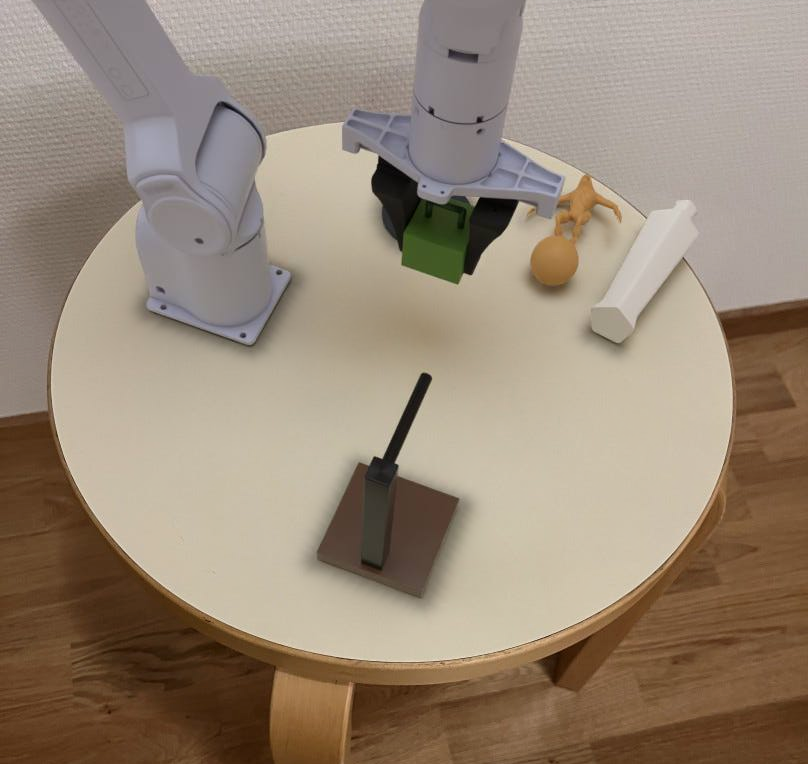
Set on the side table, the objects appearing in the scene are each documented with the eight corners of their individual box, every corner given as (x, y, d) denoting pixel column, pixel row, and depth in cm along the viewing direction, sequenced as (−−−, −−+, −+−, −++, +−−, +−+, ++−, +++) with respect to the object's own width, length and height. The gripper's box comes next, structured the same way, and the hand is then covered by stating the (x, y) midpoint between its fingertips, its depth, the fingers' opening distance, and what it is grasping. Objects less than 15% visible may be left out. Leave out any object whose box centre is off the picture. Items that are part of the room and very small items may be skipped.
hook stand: (316, 559, 65) (310, 464, 52) (363, 458, 68) (367, 347, 56) (420, 598, 64) (438, 511, 51) (462, 494, 68) (488, 390, 55)
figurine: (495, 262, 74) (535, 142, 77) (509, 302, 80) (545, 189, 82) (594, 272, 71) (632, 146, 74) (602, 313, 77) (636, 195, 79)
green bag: (400, 265, 65) (404, 214, 60) (422, 223, 66) (428, 170, 62) (458, 285, 64) (466, 235, 60) (478, 242, 66) (488, 190, 62)
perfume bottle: (644, 347, 73) (716, 230, 79) (628, 303, 70) (704, 186, 76) (595, 346, 76) (668, 234, 82) (578, 304, 73) (655, 192, 79)
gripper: (321, 96, 52) (325, 260, 64) (558, 174, 51) (516, 327, 63) (367, 23, 55) (363, 193, 67) (592, 94, 54) (546, 255, 66)
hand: (439, 253), depth 65 cm, fingers closed on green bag, 4 cm apart
